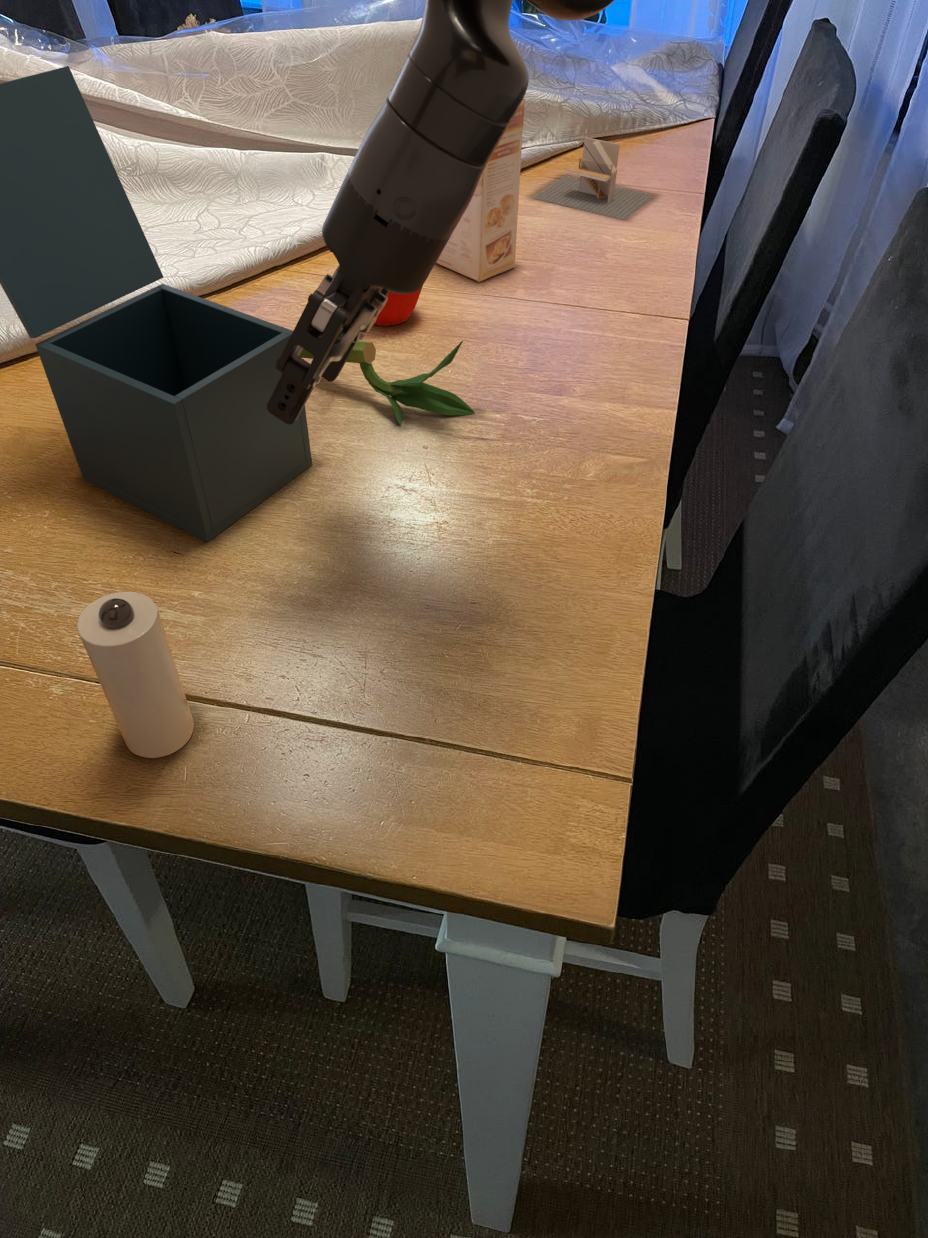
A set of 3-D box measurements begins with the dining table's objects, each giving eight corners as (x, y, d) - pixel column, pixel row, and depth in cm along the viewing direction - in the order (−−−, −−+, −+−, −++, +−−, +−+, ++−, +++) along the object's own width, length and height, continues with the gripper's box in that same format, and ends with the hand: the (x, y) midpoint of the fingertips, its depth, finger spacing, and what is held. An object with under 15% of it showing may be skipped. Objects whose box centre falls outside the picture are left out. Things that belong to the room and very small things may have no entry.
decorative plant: (250, 314, 98) (483, 330, 84) (264, 387, 102) (488, 414, 88) (211, 327, 93) (449, 347, 79) (228, 403, 98) (456, 434, 84)
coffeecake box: (516, 267, 113) (527, 97, 99) (478, 283, 110) (484, 109, 96) (435, 233, 120) (435, 70, 107) (397, 247, 117) (392, 80, 103)
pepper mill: (119, 761, 58) (63, 634, 49) (129, 707, 61) (78, 579, 53) (190, 755, 58) (147, 628, 50) (197, 702, 62) (157, 574, 53)
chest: (312, 464, 82) (296, 331, 72) (207, 542, 74) (173, 403, 64) (192, 412, 88) (162, 282, 78) (82, 479, 80) (34, 343, 70)
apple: (401, 293, 107) (399, 228, 102) (439, 323, 102) (439, 256, 96) (336, 311, 104) (330, 244, 98) (371, 342, 98) (367, 273, 93)
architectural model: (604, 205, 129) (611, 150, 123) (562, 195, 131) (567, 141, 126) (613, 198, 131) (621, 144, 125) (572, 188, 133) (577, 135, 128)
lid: (68, 65, 69) (63, 67, 69) (-92, 106, 61) (-97, 109, 61) (164, 277, 78) (158, 278, 78) (35, 337, 70) (30, 338, 70)
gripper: (386, 146, 61) (294, 336, 71) (313, 181, 50) (215, 401, 59) (475, 211, 62) (372, 389, 72) (424, 259, 51) (310, 463, 61)
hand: (301, 394), depth 66 cm, fingers open, 8 cm apart
